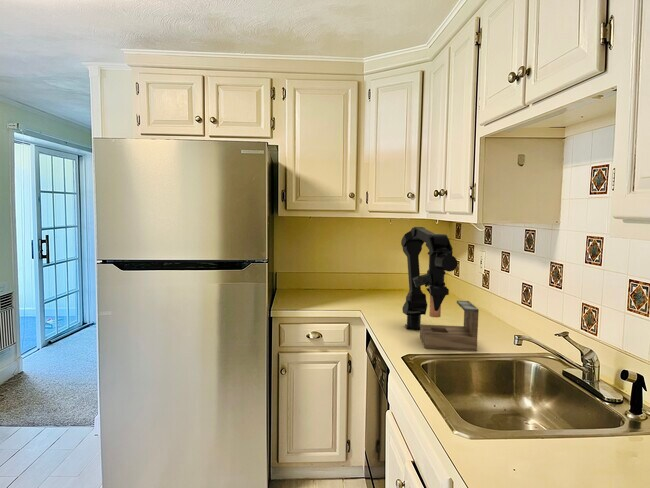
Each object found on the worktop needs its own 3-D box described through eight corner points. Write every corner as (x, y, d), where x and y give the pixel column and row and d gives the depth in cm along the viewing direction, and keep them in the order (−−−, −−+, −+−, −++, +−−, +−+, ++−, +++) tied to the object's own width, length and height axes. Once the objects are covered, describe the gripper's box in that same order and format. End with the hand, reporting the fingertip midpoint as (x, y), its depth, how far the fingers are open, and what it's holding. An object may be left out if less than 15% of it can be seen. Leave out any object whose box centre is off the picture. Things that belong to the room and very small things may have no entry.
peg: (428, 314, 156) (429, 293, 155) (439, 315, 155) (440, 294, 155) (430, 317, 152) (430, 295, 151) (441, 317, 151) (441, 296, 151)
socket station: (419, 336, 161) (421, 299, 160) (467, 339, 159) (468, 300, 158) (425, 348, 147) (426, 307, 146) (476, 351, 146) (478, 309, 144)
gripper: (412, 264, 162) (411, 303, 163) (417, 270, 144) (415, 314, 145) (441, 265, 161) (440, 304, 162) (449, 271, 142) (448, 315, 144)
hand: (435, 309), depth 153 cm, fingers closed on peg, 4 cm apart
